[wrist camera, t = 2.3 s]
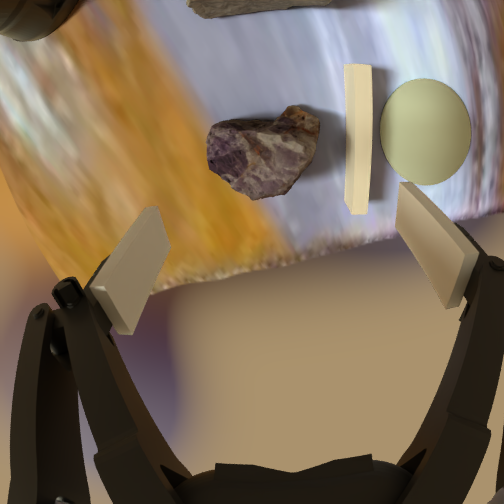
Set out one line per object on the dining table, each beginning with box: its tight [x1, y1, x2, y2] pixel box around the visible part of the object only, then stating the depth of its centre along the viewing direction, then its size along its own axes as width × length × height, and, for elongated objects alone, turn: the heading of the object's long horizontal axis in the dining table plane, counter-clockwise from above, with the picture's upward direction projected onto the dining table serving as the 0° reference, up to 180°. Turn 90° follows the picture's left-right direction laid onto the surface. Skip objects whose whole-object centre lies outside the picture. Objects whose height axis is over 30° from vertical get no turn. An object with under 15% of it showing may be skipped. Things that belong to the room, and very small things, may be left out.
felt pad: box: [380, 79, 471, 185], centre depth 29 cm, size 15×15×1 cm
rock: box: [206, 105, 320, 200], centre depth 30 cm, size 12×9×10 cm
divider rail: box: [344, 64, 372, 215], centre depth 30 cm, size 2×18×4 cm, turn 6°
